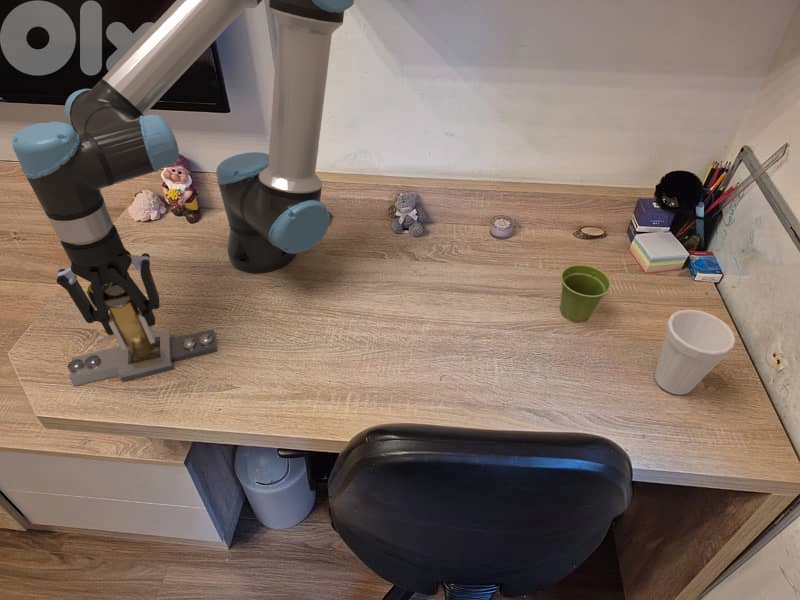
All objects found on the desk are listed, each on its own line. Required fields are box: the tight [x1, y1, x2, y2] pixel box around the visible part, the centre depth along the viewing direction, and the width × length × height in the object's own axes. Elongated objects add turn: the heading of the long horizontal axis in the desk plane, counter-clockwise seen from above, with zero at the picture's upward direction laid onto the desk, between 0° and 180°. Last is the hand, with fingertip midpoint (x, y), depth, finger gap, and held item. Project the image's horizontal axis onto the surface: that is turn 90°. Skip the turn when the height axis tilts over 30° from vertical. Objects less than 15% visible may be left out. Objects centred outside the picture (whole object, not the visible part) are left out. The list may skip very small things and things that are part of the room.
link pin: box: [103, 285, 155, 358], centre depth 90 cm, size 5×5×13 cm
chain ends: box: [67, 328, 218, 387], centre depth 95 cm, size 24×9×3 cm, turn 110°
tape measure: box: [86, 283, 118, 306], centre depth 107 cm, size 7×7×4 cm
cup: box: [654, 309, 736, 396], centre depth 88 cm, size 10×10×13 cm
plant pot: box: [559, 263, 612, 323], centre depth 103 cm, size 9×9×9 cm
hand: (138, 340), depth 93 cm, fingers closed on link pin, 4 cm apart
